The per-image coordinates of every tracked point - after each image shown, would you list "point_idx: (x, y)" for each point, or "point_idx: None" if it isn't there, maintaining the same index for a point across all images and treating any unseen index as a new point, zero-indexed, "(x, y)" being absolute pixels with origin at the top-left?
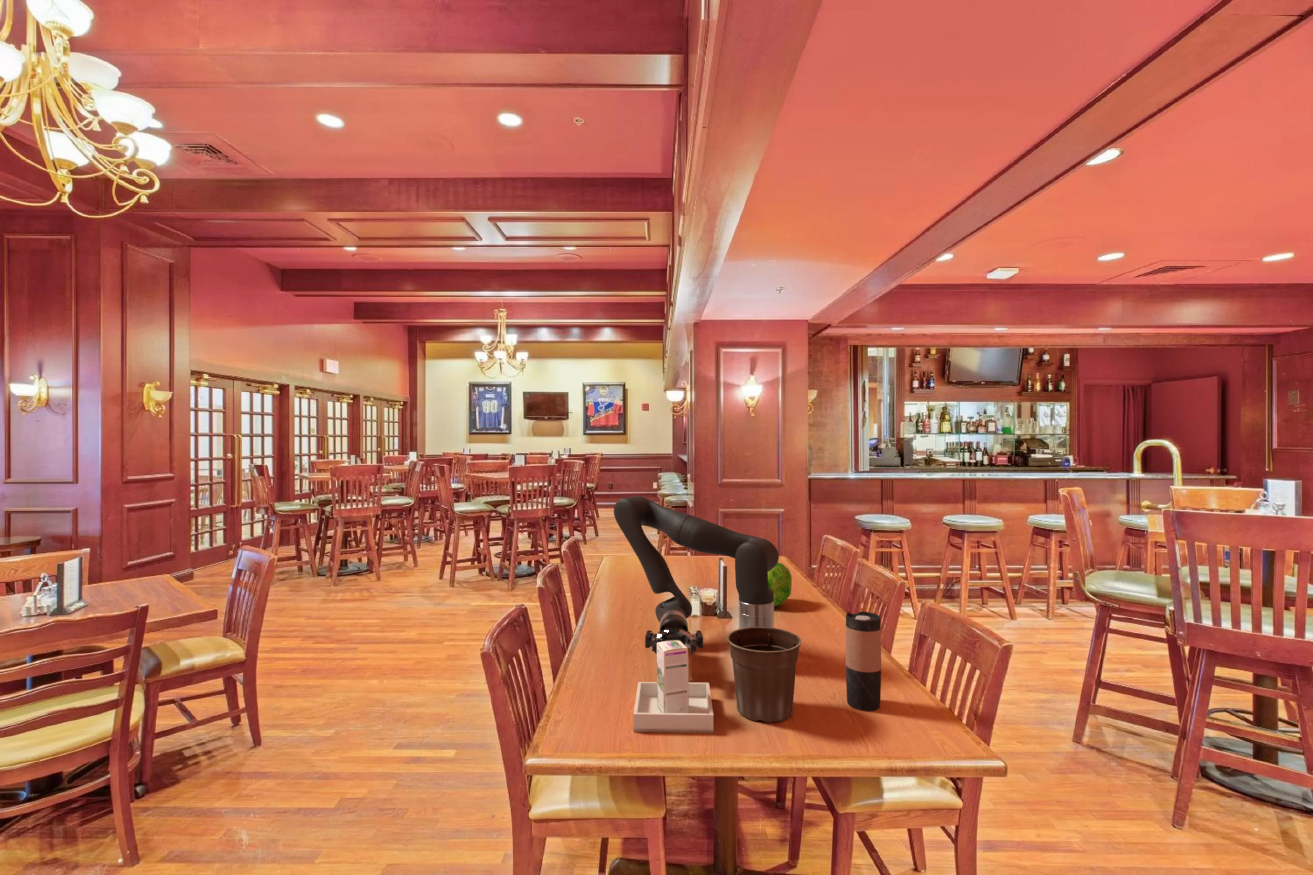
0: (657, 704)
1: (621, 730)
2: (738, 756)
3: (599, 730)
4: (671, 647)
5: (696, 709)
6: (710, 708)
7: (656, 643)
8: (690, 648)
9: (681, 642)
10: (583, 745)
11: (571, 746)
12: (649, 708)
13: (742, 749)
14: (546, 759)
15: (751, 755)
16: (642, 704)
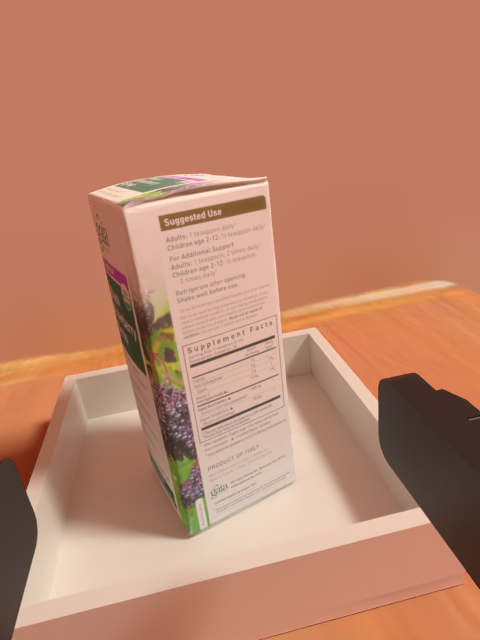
0: (304, 502)
1: (355, 370)
2: (45, 371)
3: (415, 357)
4: (172, 176)
5: (117, 510)
6: (64, 401)
7: (410, 389)
8: (2, 621)
9: (113, 200)
10: (403, 318)
11: (425, 311)
12: (324, 464)
13: (24, 390)
14: (435, 286)
15: (12, 380)
16: (373, 484)
